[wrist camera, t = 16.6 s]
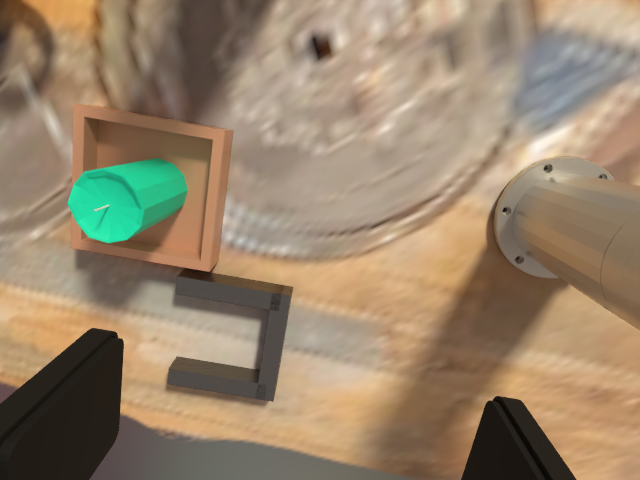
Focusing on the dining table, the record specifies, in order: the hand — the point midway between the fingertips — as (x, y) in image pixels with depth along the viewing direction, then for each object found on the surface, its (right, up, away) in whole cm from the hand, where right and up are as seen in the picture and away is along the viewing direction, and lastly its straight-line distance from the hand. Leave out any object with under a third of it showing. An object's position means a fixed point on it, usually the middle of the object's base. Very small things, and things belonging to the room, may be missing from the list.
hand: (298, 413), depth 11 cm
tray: (-16, +10, +33) cm, 38 cm away
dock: (-10, -6, +37) cm, 39 cm away
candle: (-16, +10, +32) cm, 37 cm away
